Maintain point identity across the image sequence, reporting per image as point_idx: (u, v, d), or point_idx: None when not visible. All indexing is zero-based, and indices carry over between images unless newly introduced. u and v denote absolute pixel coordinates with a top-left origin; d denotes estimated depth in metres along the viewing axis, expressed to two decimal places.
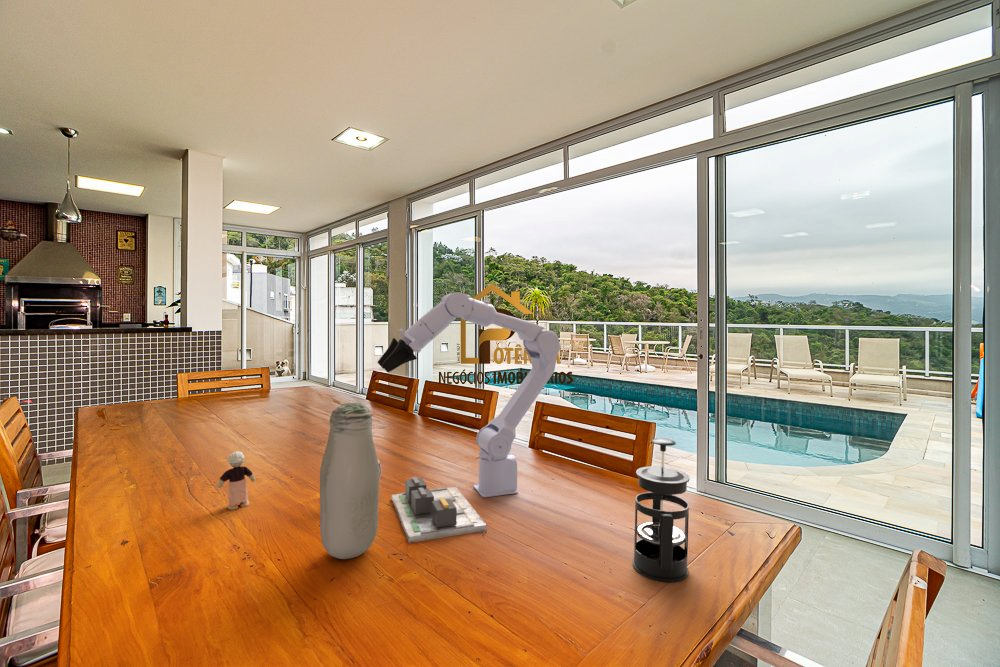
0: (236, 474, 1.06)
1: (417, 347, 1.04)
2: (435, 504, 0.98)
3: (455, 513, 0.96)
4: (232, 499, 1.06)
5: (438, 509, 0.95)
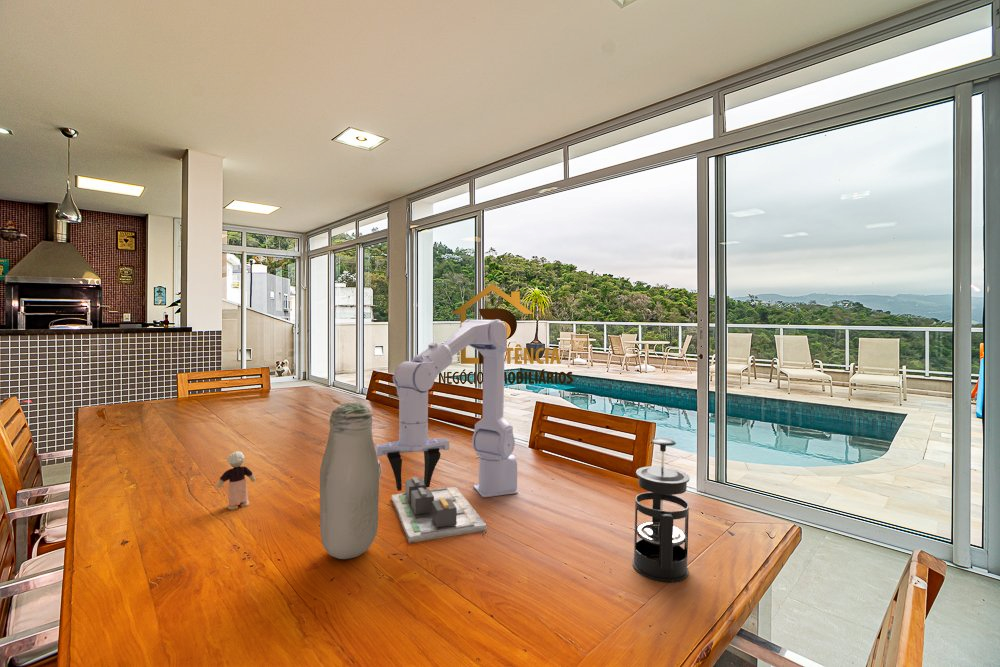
0: (236, 473, 1.06)
1: None
2: (435, 504, 0.98)
3: (455, 513, 0.96)
4: (232, 499, 1.06)
5: (438, 509, 0.95)
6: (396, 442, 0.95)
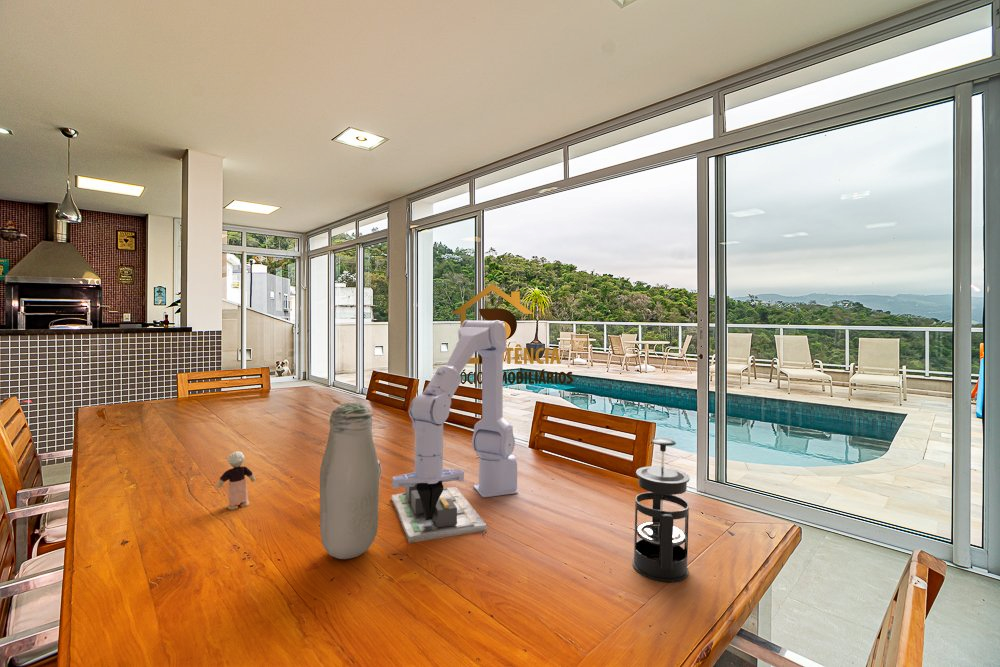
0: (236, 473, 1.06)
1: None
2: None
3: (455, 513, 0.96)
4: (232, 499, 1.06)
5: (438, 509, 0.95)
6: (412, 473, 0.97)
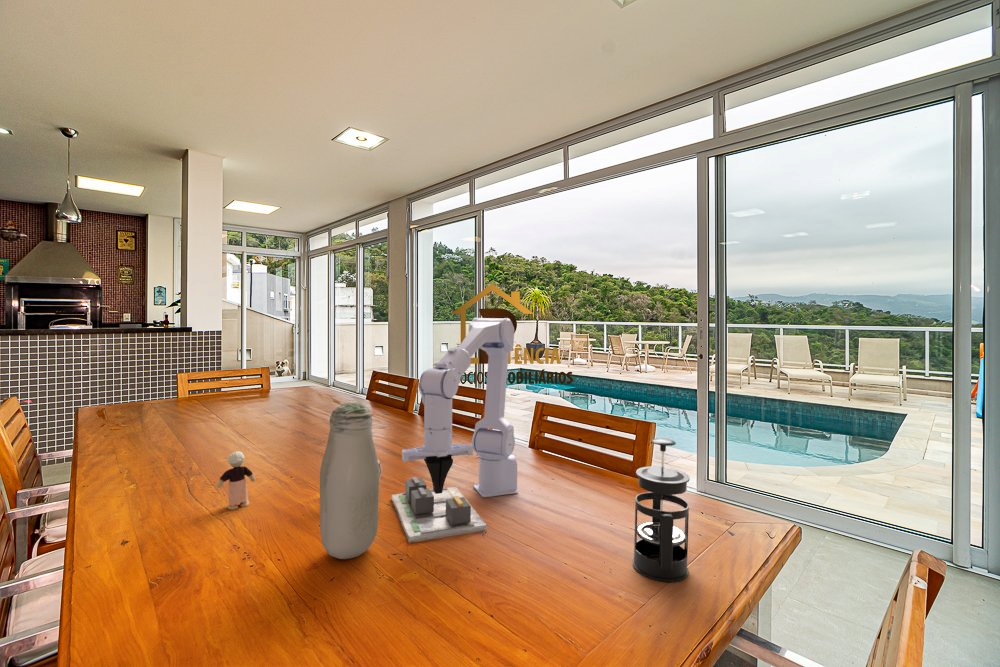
0: (236, 473, 1.06)
1: None
2: (449, 502, 0.99)
3: (469, 511, 0.97)
4: (232, 499, 1.06)
5: (452, 507, 0.96)
6: (421, 447, 0.97)
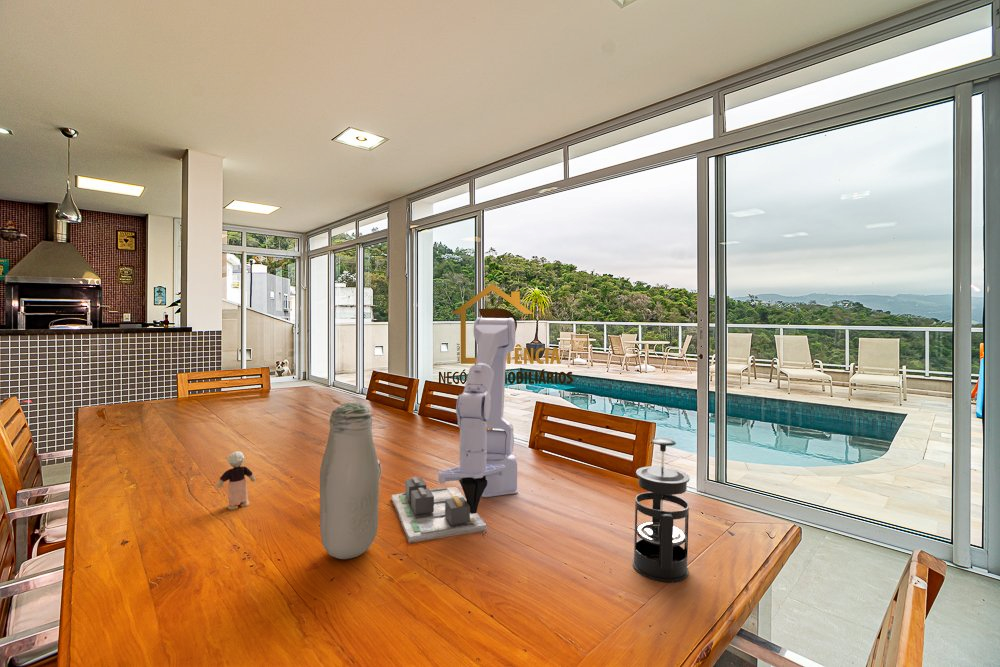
0: (236, 474, 1.06)
1: None
2: (448, 502, 0.99)
3: (468, 511, 0.97)
4: (232, 499, 1.06)
5: (452, 507, 0.96)
6: (456, 468, 1.00)
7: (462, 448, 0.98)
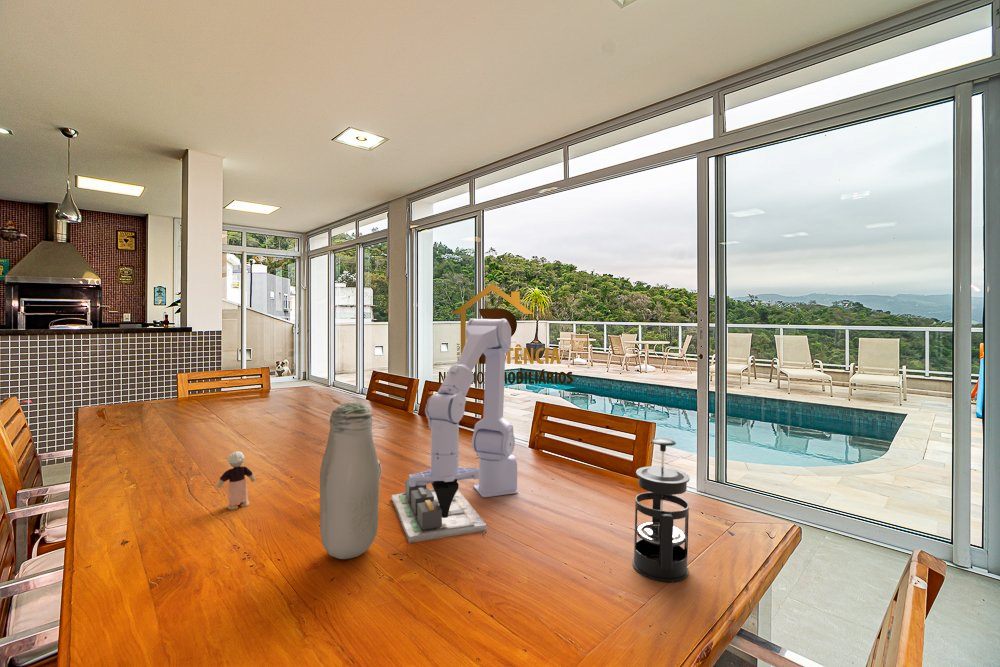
0: (236, 473, 1.06)
1: None
2: (420, 506, 0.96)
3: (440, 515, 0.95)
4: (232, 499, 1.06)
5: (423, 511, 0.94)
6: (427, 472, 0.98)
7: (431, 450, 0.96)
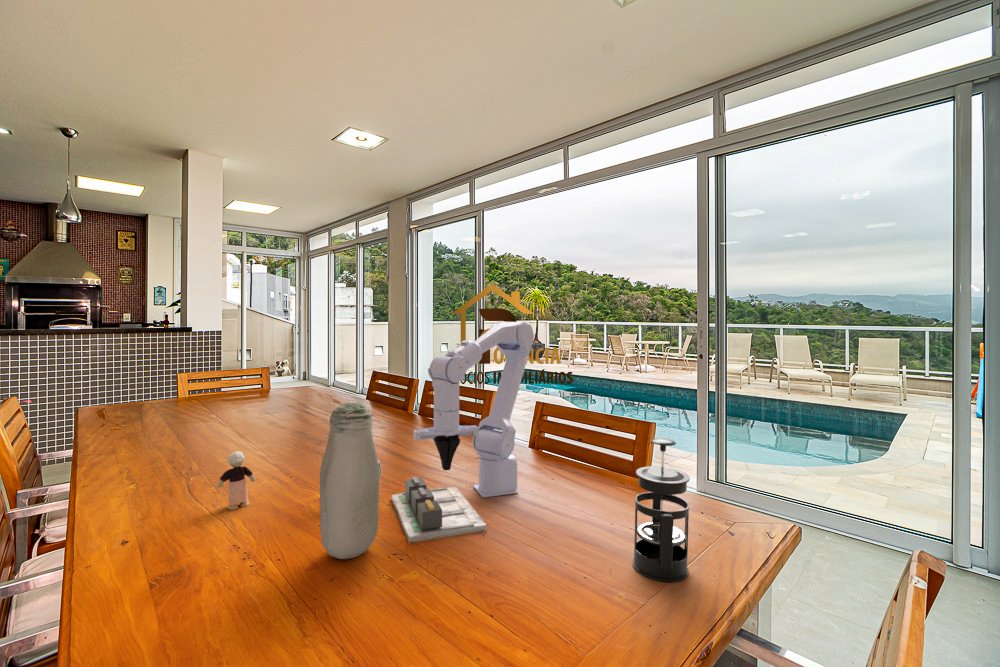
0: (236, 474, 1.06)
1: None
2: (421, 506, 0.97)
3: (440, 515, 0.95)
4: (232, 499, 1.06)
5: (423, 511, 0.94)
6: (431, 428, 1.06)
7: (434, 407, 1.05)
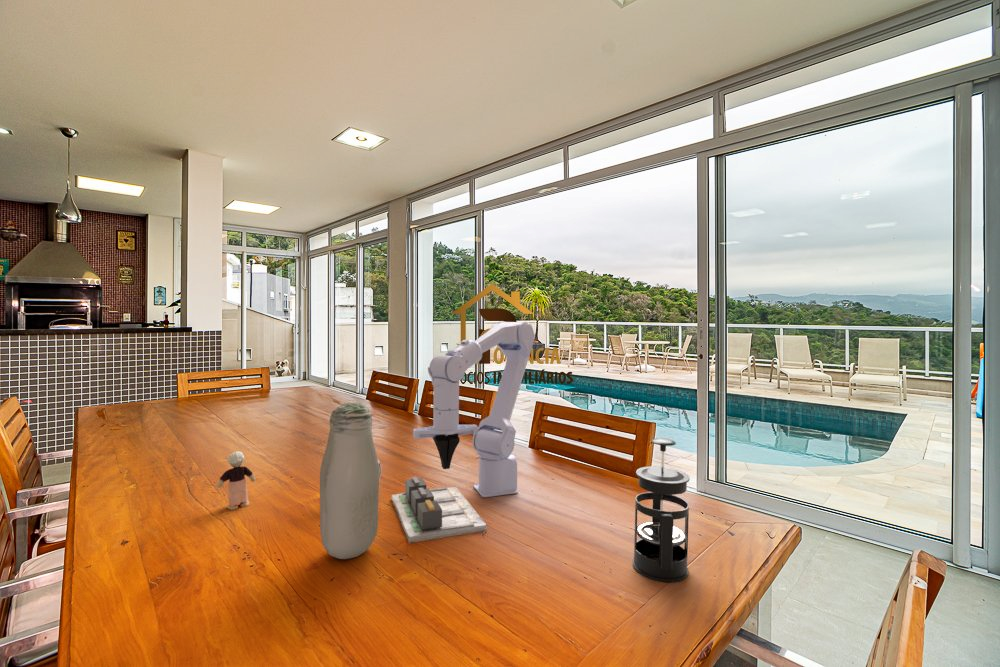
0: (236, 474, 1.06)
1: None
2: (421, 506, 0.97)
3: (440, 515, 0.95)
4: (232, 499, 1.06)
5: (423, 511, 0.94)
6: (430, 427, 1.07)
7: (433, 406, 1.05)
